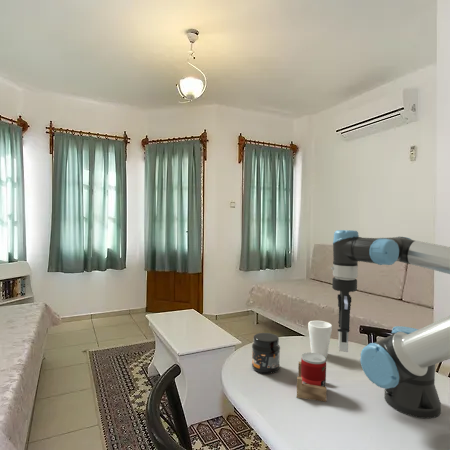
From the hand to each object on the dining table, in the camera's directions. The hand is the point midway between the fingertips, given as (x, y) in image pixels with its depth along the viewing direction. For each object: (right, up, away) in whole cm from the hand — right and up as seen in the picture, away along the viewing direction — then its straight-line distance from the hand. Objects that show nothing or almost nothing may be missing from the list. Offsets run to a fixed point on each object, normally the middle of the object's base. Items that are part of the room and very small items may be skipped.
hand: (343, 349), depth 106 cm
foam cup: (+1, -14, +30) cm, 34 cm away
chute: (-10, -14, +3) cm, 17 cm away
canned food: (-9, -15, +3) cm, 17 cm away
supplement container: (-23, -14, +18) cm, 32 cm away
